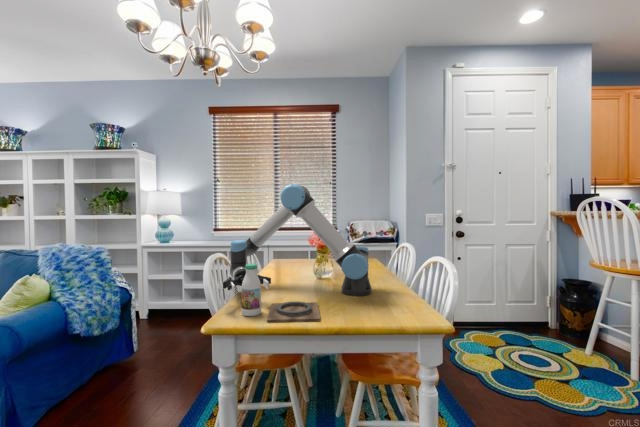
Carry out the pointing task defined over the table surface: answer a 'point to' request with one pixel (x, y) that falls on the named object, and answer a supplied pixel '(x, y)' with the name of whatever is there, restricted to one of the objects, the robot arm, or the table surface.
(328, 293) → the table surface
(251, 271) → the milk bottle
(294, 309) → the collar stand
